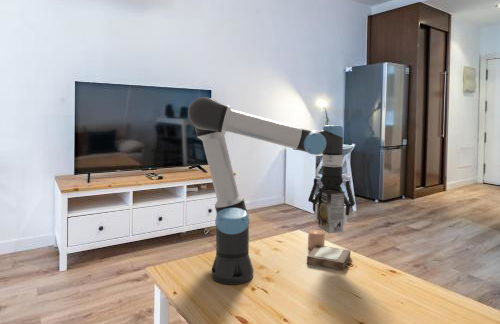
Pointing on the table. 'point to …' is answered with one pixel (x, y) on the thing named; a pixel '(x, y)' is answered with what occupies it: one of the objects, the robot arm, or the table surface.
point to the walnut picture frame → (329, 257)
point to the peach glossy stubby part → (315, 239)
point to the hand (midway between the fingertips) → (330, 221)
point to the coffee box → (331, 210)
